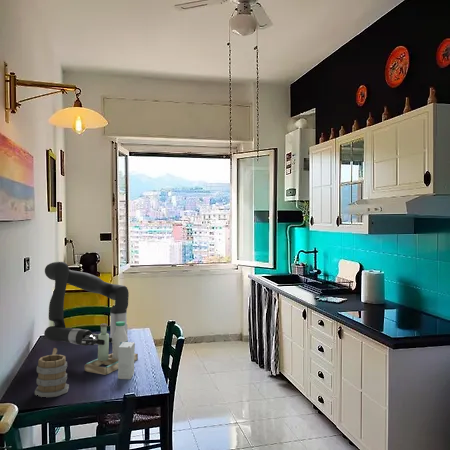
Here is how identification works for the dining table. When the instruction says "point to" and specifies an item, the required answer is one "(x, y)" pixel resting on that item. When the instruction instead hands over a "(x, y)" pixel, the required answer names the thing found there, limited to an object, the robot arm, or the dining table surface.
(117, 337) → the milk bottle
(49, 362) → the tankard
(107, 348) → the sage bottle
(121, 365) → the skincare box
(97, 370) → the frame
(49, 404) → the dining table surface
